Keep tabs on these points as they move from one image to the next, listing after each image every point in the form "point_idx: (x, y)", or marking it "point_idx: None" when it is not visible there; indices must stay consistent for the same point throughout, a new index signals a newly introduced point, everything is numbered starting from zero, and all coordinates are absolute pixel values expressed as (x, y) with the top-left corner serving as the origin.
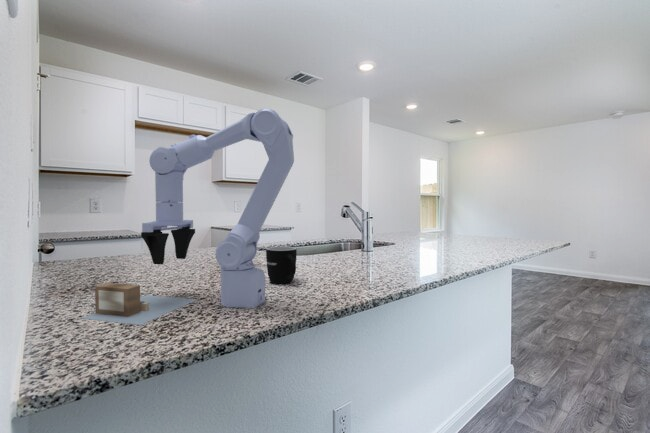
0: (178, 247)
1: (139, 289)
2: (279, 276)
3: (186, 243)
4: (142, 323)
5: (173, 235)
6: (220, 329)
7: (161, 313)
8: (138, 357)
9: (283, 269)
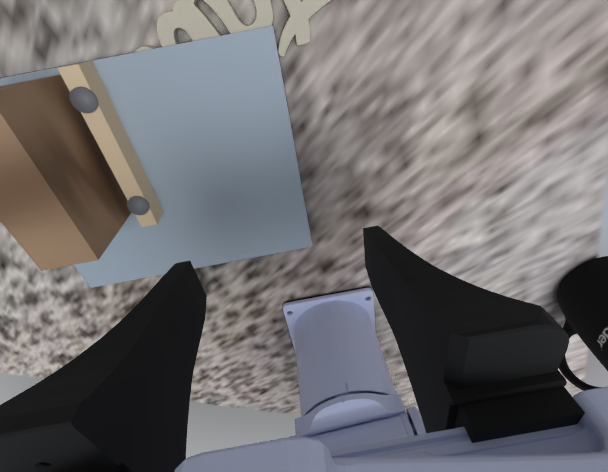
0: (388, 280)
1: (102, 251)
2: (568, 315)
3: (400, 346)
4: (97, 283)
5: (427, 317)
6: (207, 370)
7: (169, 263)
8: (44, 360)
9: (584, 341)
